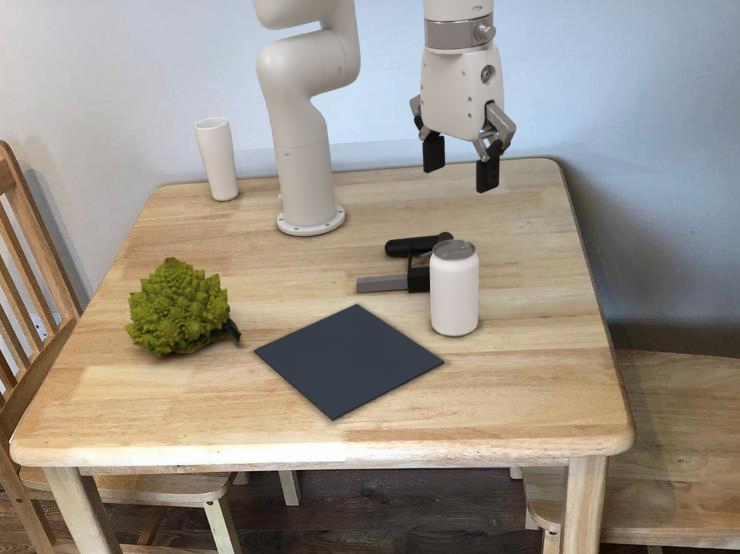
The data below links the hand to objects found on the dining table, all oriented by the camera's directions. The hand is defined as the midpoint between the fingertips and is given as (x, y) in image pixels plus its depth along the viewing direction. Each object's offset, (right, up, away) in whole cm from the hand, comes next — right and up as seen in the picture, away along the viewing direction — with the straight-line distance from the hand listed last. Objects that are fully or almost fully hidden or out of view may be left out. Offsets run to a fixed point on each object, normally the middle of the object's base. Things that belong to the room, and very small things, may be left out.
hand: (460, 179), depth 94 cm
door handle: (-3, -9, +25) cm, 27 cm away
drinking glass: (-37, +12, +59) cm, 71 cm away
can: (+2, -17, +13) cm, 22 cm away
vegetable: (-37, -19, +18) cm, 46 cm away
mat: (-14, -22, +10) cm, 28 cm away
